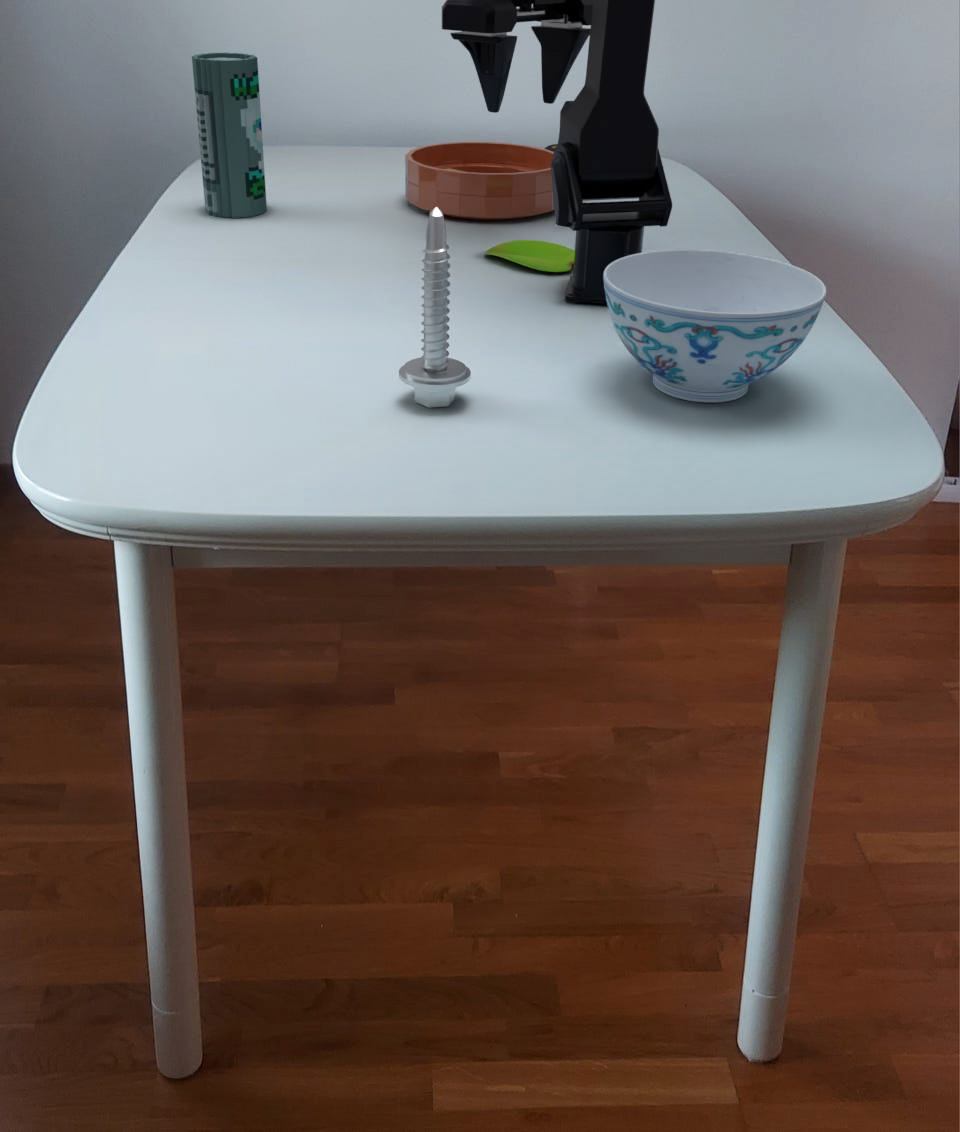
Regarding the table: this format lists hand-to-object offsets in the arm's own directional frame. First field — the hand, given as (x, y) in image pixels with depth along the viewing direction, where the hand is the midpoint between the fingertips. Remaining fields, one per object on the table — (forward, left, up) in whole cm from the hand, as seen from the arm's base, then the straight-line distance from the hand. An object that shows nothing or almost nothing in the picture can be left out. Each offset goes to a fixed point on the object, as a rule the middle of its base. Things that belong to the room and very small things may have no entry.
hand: (521, 107), depth 117 cm
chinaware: (-42, -18, -12) cm, 48 cm away
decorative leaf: (-14, -3, -12) cm, 19 cm away
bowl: (+8, +5, -11) cm, 15 cm away
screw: (-49, 0, -12) cm, 51 cm away
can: (-2, +30, -12) cm, 32 cm away
